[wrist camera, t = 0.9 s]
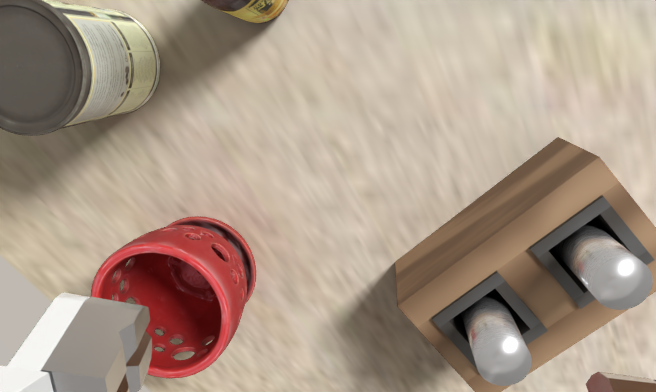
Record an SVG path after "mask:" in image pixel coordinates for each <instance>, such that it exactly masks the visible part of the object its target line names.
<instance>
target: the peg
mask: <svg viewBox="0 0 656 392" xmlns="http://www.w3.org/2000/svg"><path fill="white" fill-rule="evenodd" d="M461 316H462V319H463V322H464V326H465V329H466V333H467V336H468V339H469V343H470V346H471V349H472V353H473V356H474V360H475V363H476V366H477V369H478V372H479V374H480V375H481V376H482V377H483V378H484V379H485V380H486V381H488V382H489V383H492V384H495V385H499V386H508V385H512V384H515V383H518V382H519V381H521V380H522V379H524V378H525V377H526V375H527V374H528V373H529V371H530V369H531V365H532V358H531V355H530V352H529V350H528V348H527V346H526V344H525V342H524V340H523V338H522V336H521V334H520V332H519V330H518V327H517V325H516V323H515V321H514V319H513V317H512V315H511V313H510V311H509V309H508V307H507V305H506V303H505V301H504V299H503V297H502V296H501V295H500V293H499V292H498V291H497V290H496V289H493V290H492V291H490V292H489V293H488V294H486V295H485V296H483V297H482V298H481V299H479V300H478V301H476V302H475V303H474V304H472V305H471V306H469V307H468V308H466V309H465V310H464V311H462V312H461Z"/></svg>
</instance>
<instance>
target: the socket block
mask: <svg viewBox="0 0 656 392" xmlns="http://www.w3.org/2000/svg"><path fill="white" fill-rule="evenodd" d="M589 221H592V222H594V223H595V224H596V225H597V226H599V227H600V228H601V229H602V230H604V231H605V232H606V233H607V234H609V235H610V236H611V237H612V238H613V239H615V240H616V241H617V242H618V243H620V244H621V245H622V246H623V247H625V248H626V249H627V250H628V251H630V252H631V253H632V254H633V255H635V256H636V257H637V258H638V259H640V260H641V261H642V262H643V263H644V264H646V265H647V266H648V268H649V269H650V271H651V274H652V278H653V284H652V289H651V291H650V293H649V295H651V294H653V293H654V292H656V227H655V226H654V225H653V224H652V222H651V221H650V220H649V219H648V217H647V216H646V215H645V213H644V212H643V211H642V210H641V208H640V207H639V206H638V205H637V203H636V202H635V201H634V200H633V198H632V197H631V196H630V195H629V193H628V192H627V191H626V190H625V188H624V187H623V186H622V185H621V183H620V182H619V181H618V180H617V178H616V177H615V176H614V175H613V173H612V172H611V171H610V170H609V168H608V167H607V166H606V165H605V163H604V162H603V161H602V160H601V158H600V157H598V156H596V155H594V154H592V153H590V152H588V151H586V150H584V149H582V148H580V147H578V146H575V145H573V144H571V143H569V142H567V141H565V140H563V139H561V138H559V137H558V138H556V139H555V140H554V141H553V142H551V143H550V144H549V145H547V146H546V147H545V148H543V149H542V150H541V151H540V152H538V153H537V154H536V155H534V156H533V157H532V158H530V159H529V160H528V161H526V162H525V163H524V164H523V165H521V166H520V167H519V168H517V169H516V170H515V171H513V172H512V173H511V174H510V175H508V176H507V177H506V178H504V179H503V180H502V181H500V182H499V183H498V184H496V185H495V186H494V187H493V188H491V189H490V190H489V191H487V192H486V193H485V194H483V195H482V196H481V197H480V198H478V199H477V200H476V201H474V202H473V203H472V204H470V205H469V206H468V207H466V208H465V209H464V210H463V211H461V212H460V213H459V214H457V215H456V216H455V217H453V218H452V219H451V220H450V221H448V222H447V223H446V224H444V225H443V226H442V227H440V228H439V229H438V230H436V231H435V232H434V233H433V234H431V235H430V236H429V237H427V238H426V239H425V240H423V241H422V242H421V243H420V244H418V245H417V246H416V247H414V248H413V249H412V250H410V251H409V252H408V253H406V254H405V255H404V256H403V257H401V258H400V259H399V260H397V261H396V262H395V270H396V289H397V306H398V307H399V309H400V310H401V311H402V312H403V313H404V314H405V315H406V316H407V317H408V318H409V320H410V321H411V322H412V323H413V324H414V325H415V326H416V327H417V328H418V329H419V331H420V332H421V333H422V334H423V335H424V336H425V337H426V338H427V339H428V340H429V342H430V343H431V344H432V345H433V346H434V347H435V348H436V349H437V350H438V352H439V353H440V354H441V355H442V356H443V357H444V358H445V359H446V360H447V361H448V363H449V364H450V365H451V366H452V367H453V368H454V369H455V370H456V371H457V372H458V374H459V375H460V376H461V377H462V378H463V379H464V380H465V381H466V382H467V383H468V385H469V386H470V387H471V388H472V389H473V390H474V391H475V392H501V391H503V390H504V389H506V388H508V387H509V386H511V385H508V386H499V385H495V384H492V383H489V382H488V381H486V380H485V379H484V378H483V377H482V376H481V375H480V374H479V372H478V369H477V366H476V363H475V360H474V356H473V353H472V349H471V346H470V343H469V339H468V336H467V333H466V329H465V326H464V322H463V319H462V316H461V312H462V311H464V310H465V309H466V308H468V307H469V306H471V305H472V304H474V303H475V302H476V301H478V300H479V299H481V298H482V297H483V296H485V295H486V294H488V293H489V292H490V291H492V290H493V289H496V290H497V291H498V292H499V293H500V295H501V296H502V297H503V299H504V301H505V303H506V305H507V307H508V309H509V311H510V313H511V315H512V317H513V319H514V321H515V323H516V325H517V327H518V330H519V332H520V334H521V336H522V338H523V340H524V342H525V344H526V346H527V348H528V350H529V352H530V355H531V358H532V365H531V369H530V371H529V373H531V372H532V371H534V370H535V369H537V368H538V367H540V366H541V365H543V364H545V363H546V362H548V361H549V360H551V359H552V358H554V357H555V356H557V355H558V354H560V353H562V352H563V351H565V350H566V349H568V348H569V347H571V346H572V345H574V344H575V343H577V342H578V341H580V340H582V339H583V338H585V337H586V336H588V335H589V334H591V333H592V332H594V331H595V330H597V329H599V328H600V327H602V326H603V325H605V324H606V323H608V322H609V321H611V320H612V319H614V318H616V317H617V316H619V315H620V314H622V313H623V312H625V311H626V310H628V309H625V310H615V309H610V308H607V307H605V306H603V305H602V304H601V303H599V302H598V301H597V299H596V298H595V297H594V296H593V295H592V294H591V292H590V291H589V290H588V289H587V288H586V287H585V286H584V284H583V283H582V282H581V281H580V280H579V279H578V277H577V276H576V275H575V274H574V273H573V272H572V270H571V269H570V268H569V267H568V266H567V265H566V264H565V262H564V261H563V260H562V259H561V258H560V257H559V255H558V254H557V253H556V252H555V251H554V250H553V247H554V246H555V245H557V244H558V243H560V242H561V241H562V240H564V239H565V238H567V237H568V236H569V235H571V234H572V233H574V232H575V231H576V230H578V229H579V228H581V227H582V226H584V225H585V224H586V223H588V222H589ZM649 295H648V296H649ZM648 296H647V297H648ZM529 373H528V374H529ZM528 374H527V375H528Z"/></svg>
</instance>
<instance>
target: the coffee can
mask: <svg viewBox="0 0 656 392" xmlns="http://www.w3.org/2000/svg"><path fill="white" fill-rule="evenodd" d="M159 76H160V58H159V54H158V50H157V47H156V45H155V43H154V40H153V38H152V37H151V35H150V34H149V32H148V31H147V30H146V28H145V27H144V26H143V25H142V24H141V23H140V22H139V21H137V20H136V19H135V18H133V17H132V16H130V15H128V14H126V13H124V12H121V11H118V10H113V9H100V8H95V7H88V6H81V5H74V4H68V3H62V2H56V1H48V0H0V128H2V129H3V130H6V131H9V132H11V133H15V134H19V135H28V136H35V135H43V134H47V133H50V132H53V131H56V130H58V129H61V128H65V127H69V126H74V125H77V124H81V123H85V122H89V121H93V120H97V119H101V118H106V117H110V116H114V115H118V114H125V113H129V112H132V111H135V110H137V109H139V108H140V107H141V106H143V105H144V104H145V103H146V102H147V101H148V100H149V99H150V98H151V96H152V95H153V93H154V91H155V89H156V87H157V85H158V82H159Z"/></svg>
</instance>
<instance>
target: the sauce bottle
mask: <svg viewBox="0 0 656 392" xmlns="http://www.w3.org/2000/svg"><path fill="white" fill-rule="evenodd" d="M202 1H204V2H205V3H207V4H208V5H210V6H211V7H213V8H215V9H218V10H220V11H223V12H225V13H228V14H230V15H232V16H235V17H238V18H240V19H242V20H245V21H248V22H253V23H262V22H267V21H270V20H272V19H274V18H275V17H277V16H279V15H280V14H281V13H282V11H283V10H284V8H285V6H286V4H287V2H288V1H289V0H202Z"/></svg>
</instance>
